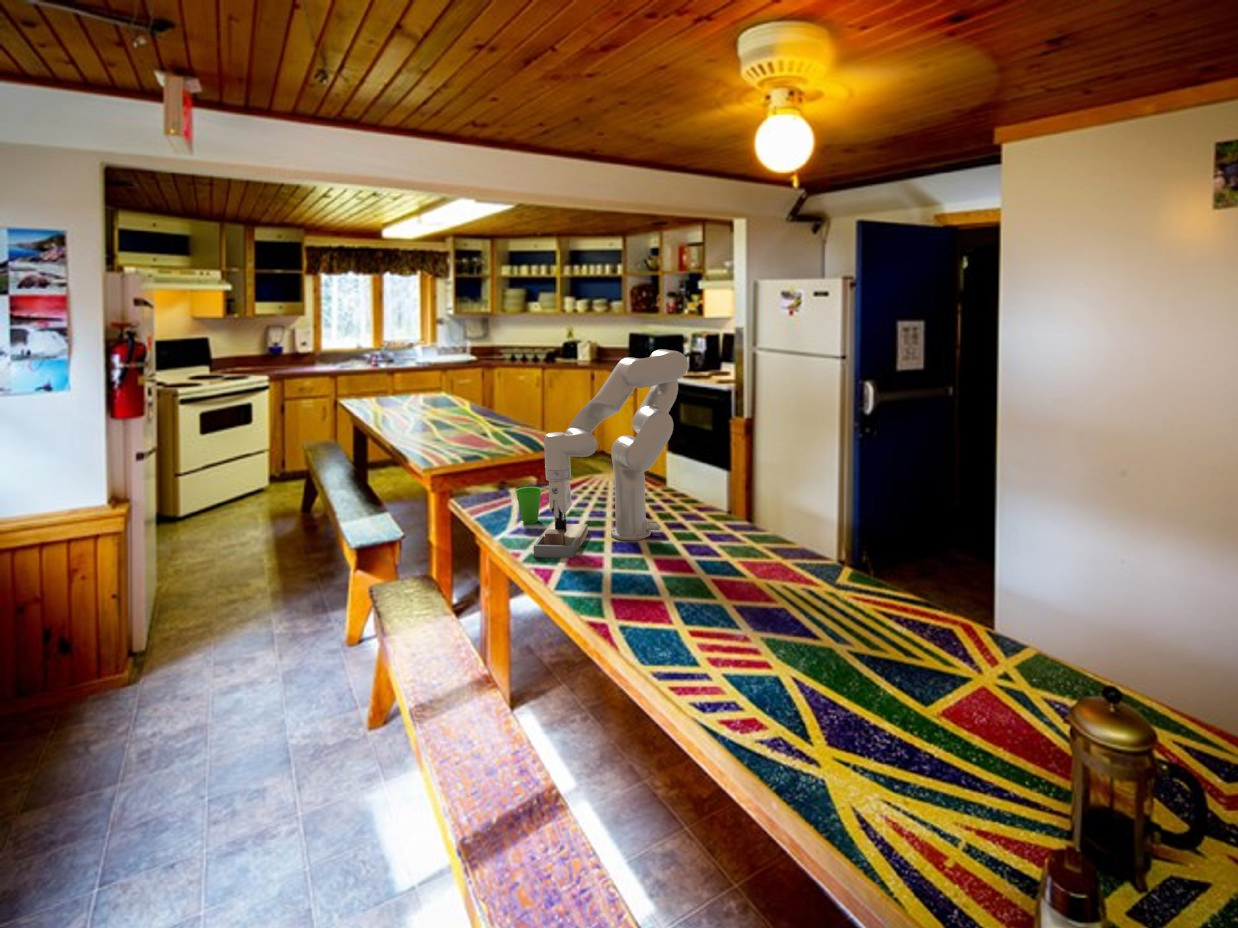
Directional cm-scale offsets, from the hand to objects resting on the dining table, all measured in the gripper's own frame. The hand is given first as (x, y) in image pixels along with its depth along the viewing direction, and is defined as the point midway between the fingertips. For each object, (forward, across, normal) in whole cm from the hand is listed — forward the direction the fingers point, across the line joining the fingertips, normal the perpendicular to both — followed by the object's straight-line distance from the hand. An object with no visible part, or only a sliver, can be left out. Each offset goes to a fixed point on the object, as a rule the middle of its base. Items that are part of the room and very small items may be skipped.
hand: (561, 532), depth 219 cm
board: (+4, +5, 0) cm, 6 cm away
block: (+1, -2, +1) cm, 3 cm away
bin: (+4, -6, 0) cm, 8 cm away
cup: (+4, +23, +16) cm, 28 cm away
